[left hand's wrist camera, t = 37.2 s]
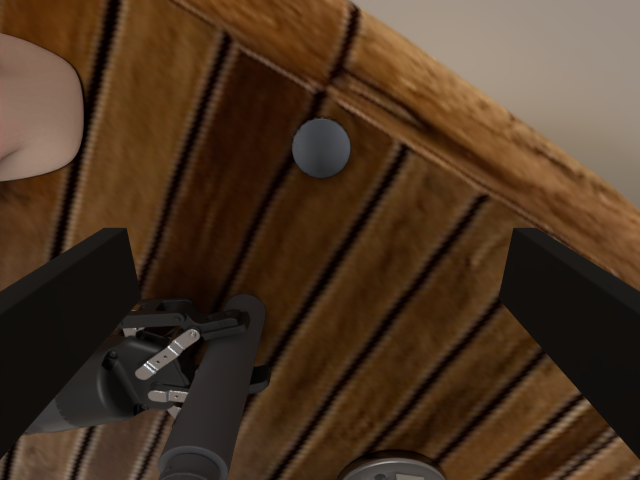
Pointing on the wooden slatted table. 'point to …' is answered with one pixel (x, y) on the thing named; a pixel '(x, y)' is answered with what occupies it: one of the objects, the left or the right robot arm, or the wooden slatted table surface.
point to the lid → (321, 147)
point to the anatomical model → (37, 110)
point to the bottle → (214, 403)
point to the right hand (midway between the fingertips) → (258, 349)
